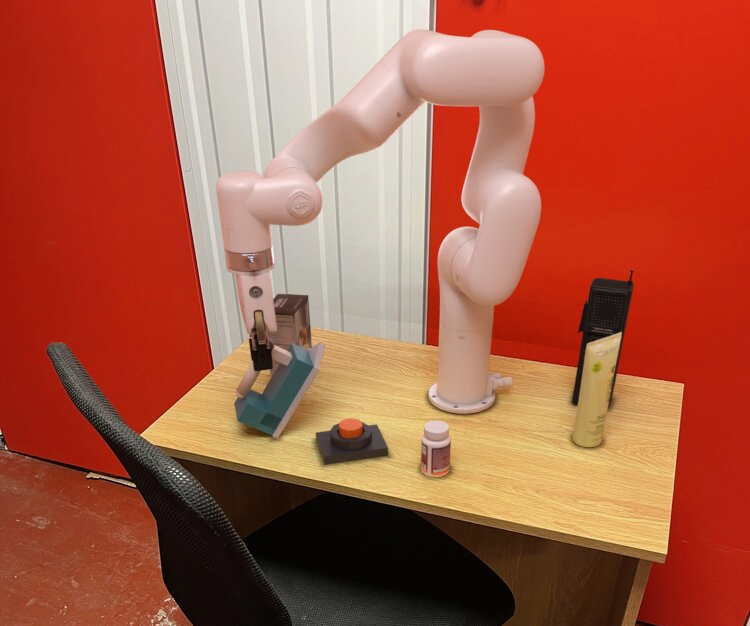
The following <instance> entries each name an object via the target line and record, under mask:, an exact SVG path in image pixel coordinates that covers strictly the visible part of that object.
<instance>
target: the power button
mask: <svg viewBox="0 0 750 626" xmlns="http://www.w3.org/2000/svg"><path fill="white" fill-rule="evenodd" d="M362 422H363V421H361V420H360V419H358V418H353V417H347V418H345V419H342V420H340V421H339V422H338V423H339V434H340V436H342V437H344V438H357V437H359V436H361V435H362V433H363V428H362Z"/></svg>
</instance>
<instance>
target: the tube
mask: <svg viewBox="0 0 750 626" xmlns="http://www.w3.org/2000/svg"><path fill="white" fill-rule="evenodd" d="M621 336H622V332H620V333H617V334H614V335H612V336H609V337H606V338H603V339H600V340H597V341H594V342H590V343H587V346H586V352H585V359H584V367H583V374H582V381H581V387H580V394H579V401H578V404H577V408H576V413H575V420H574V426H573V433H572V441H573V442H574V443H575V444H576V445H578V446H579V447H582V448H596V447H598V446H600V445H601V443H602V442H603V437H604V431H605V426H606V425H605V424H606V420H607V416H608V410H609V409H608V405H609V400H610V394H611V389H612V384H613V378H614V373H615V367H616V362H617V357H618V352H619V347H620V342H621Z"/></svg>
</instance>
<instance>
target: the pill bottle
mask: <svg viewBox="0 0 750 626" xmlns="http://www.w3.org/2000/svg"><path fill="white" fill-rule="evenodd" d="M449 434H450V425H449V423H448V422H445V421H443V420H439V419H438V420H437V419H435V420H430V421H427V422H426V423H424V426H423V435H422V436H421V438H420V471H421V472H422V474H424V475H425V476H426V477H430V478H440V477H441V478H442V477H444V476H446V475H447V474H449V471H450V466H451V447H452V446H451V445H452V439H451V436H450V435H449Z"/></svg>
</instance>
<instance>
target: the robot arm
mask: <svg viewBox="0 0 750 626" xmlns="http://www.w3.org/2000/svg"><path fill="white" fill-rule="evenodd" d="M545 69H546V68H545V60H544V56H543V53H542V51H541V50H540V48H539V47H538V46H537V44H536V43H534V42H533V41H532V40H530V39H528V38H526V37H523V36H520V35H516V34H511V33H508V32H505V31H501V30H495V29H484V30H480V31H478V32H475V33H474V34H473V35H471V36H470V37H469V36H459V35H458V36H457V35H451V34H450V35H449V34H445V33H441V32H438V31H433V30H430V29H424V28H419V29H414V30H411V31H409V32H408V33H406V34H405V35H403V36H402V37H401V38H400V39H399V40H398V41H397V42H396V43H395V44H394V45H393V46H392V47H391V48H389V50H388V51H387V52H386V53H385V54H384V55H383V56H382V57H381V58H380V59H379V60H378V61H377V63H376V64H375V65H374V66H372V67H371V69H370V70H369V71H368V72H367V73H366V74H365V75H364V76H363V77H362V78H361V79H360V80H359V81H358V82H357V84H356V85H354V87H353V88H352V89H350V91H349V92H348V93H347V94H346V95H345V96H343V98H342V99H341V100H340V101H339V102H337V103H336V104H334V105H333V106H331V107H330V108H328V109H327V110H325V112H323V113H322V114H321V115H319V116H318V117H316V118H315V119H314V120H313V121H311V122H310V123H308V124H307V125H306V126H305V127H304V128H302V129H301V130H300V131H298V133H296V135H294V137H293V138H292V139H290V140H289V142H288V143H287V144H286V145H285V146H284V147H282V149H281V150H280V151H279V152H278V153H277V155H276V156H274V158H273V159H272V160H271V161H270V162H269V164H268V165H267V167H266V169H265V170H264V172H263V175H262V174H261V173H259V172H256V171H251V170H236V171H231V172H227V173H224V174H222V175H220V176H219V177H218V179H217V180H216V185H215V187H216V189H215V191H216V196H217V197H216V198H217V205H218V213H219V220H220V227H221V228H220V229H221V234H222V241H223V242H222V243H223V249H224V250H223V251H224V256H225V257H224V258H225V265H226V271H227V272H229V273H231V274H233V275H235V281H236V283H235V284H236V289H237V296H238V301H239V306H240V311H241V315H242V319H243V322H244V327H245V329H246V333H247V334H248V335H249V338H248V342H249V343H248V345H249V352H250V359H251V362H252V361H253V367H254V371H261V372H262V371H270V370H271V369H273V362H272V353H271V346H270V344H269V335H268V329H269V330H270V332H274V333H275V332H276V331H277V325H276V317H275V309H274V300H273V299H274V292H273V286H272V279H271V274H270V271H272V270H273V269H274V268H275V266H276V262H275V253H274V241H273V231H272V230H273V229H272V225H274V226H288V227H290V226H291V227H297V226H298V227H299V226H304V225H307V224H310V223H312V222H314V221H315V220H316V219H317V218H318V217H319V215H320V214H321V212H322V209H323V207H324V206H323V205H324V195H323V193H322V190H321V188H320V186H319V184H318V182H319V181H320V180H321V179H322V178H323V177H325V175H326V174H327V173H329V172H330V171H331V170H332V169H333V168H334V167H336V166H337V165H338V164H340V163H342V162H343V161H345V160H347V159H350V158H351V157H355V156H358V155H365V154H368V153H370V152H373V151H376V150H378V149H380V148H381V147H382V146H384V144H386V143H387V141H389V140H390V139H391V138H392V137H393V135H395V133H396V132H397V131H398V130H399V129H400V128H401V127H402V126H404V124H406V122H407V121H408V120H409V119H410V118H411V117H412V116H413V115H414V114H415V113H416V112H417V111H418V110H419V109H420V108H421V107H422V106H423V105H424V104H425V103H428V104H431V105H435V106H441V107H442V106H443V107H465V108H467V107H478V109H479V125H478V130H477V134H476V139H475V144H474V146H473V151H472V155H471V157H470V158H471V159H470V161H469V165H468V168H467V172H466V176H465V179H464V183H463V187H462V191H461V204H462V208H463V209H464V211H465V213H466V214H467V215H468V216H469V217H470V219H472V220H474V221H475V222H476V223H477V224H479V227H477V228H476V227H474V226H461V227H458V228H455V229H453V230H452V231H450V232H449V233H448V234H447V235H446V236H445V237H444V239H443V240H442V241H441V244H440V246H439V250H438V253H437V275H438V283H439V325H438V326H439V327H438V328H439V329H438V350H437V357H438V358H437V375H436V377H437V378H436V382H435V383H433V384H432V385H431V386H430V387H429V389H428V400H429V401H430V403H431V404H432V405H433V407H435V408H437V409H439V410H440V411H444V412H446V413H447V412H448V413H452V414H459V415H468V414H475V413H480V412H482V411H485V410H488V409H489V408H490V407H492V406H493V404H495V401H496V391H497V390H498V389H505V388H512V387H513V385H514V384H513V383H514V380H513V378H512V376H505V377H503V376H502V373H501V372H497V373H492V374H490V362H491V353H492V352H491V351H492V339H493V328H494V327H493V325H494V315H495V306H498V305H500V304H502V303H504V302H505V301H507V300H508V298H510V297H511V295H512V294H513V293H514V291H515V290H516V288H517V287H518V285H519V282H520V280H521V278H522V276H523V272H524V270H525V267H526V264H527V261H528V258H529V255H530V252H531V249H532V246H533V244H534V240H535V236H536V233H537V230H538V227H539V224H540V220H541V214H542V198H541V194H540V191H539V189H538V187H537V185H536V184H535V183H534V182H533V181H532V180H531V179H530V178H529V177H527V176H526V175H524V171H525V167H526V163H527V160H528V155H529V152H530V147H531V144H532V139H533V136H534V131H535V123H536V111H535V110H536V109H535V101H534V97H533V96H534V95H535V94H536V93H537V92H538V91H539V89H540V87H541V85H542V83H543V80H544V76H545Z"/></svg>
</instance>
